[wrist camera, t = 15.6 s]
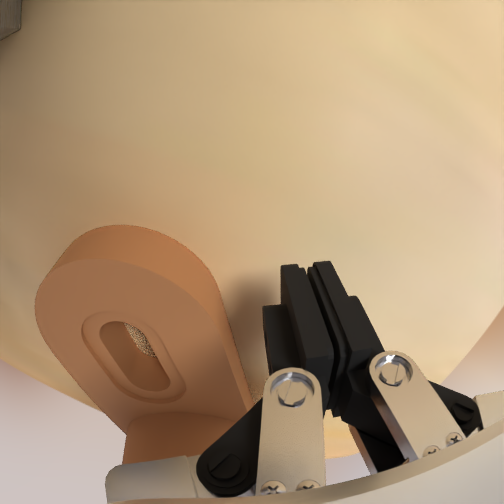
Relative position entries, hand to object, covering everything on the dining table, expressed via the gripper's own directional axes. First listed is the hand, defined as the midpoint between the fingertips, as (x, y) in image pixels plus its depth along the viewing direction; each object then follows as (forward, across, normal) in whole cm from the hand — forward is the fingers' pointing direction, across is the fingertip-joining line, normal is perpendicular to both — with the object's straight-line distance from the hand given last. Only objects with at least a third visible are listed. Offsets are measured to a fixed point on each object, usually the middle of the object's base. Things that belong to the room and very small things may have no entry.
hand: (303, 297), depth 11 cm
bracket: (+3, +7, +7) cm, 10 cm away
